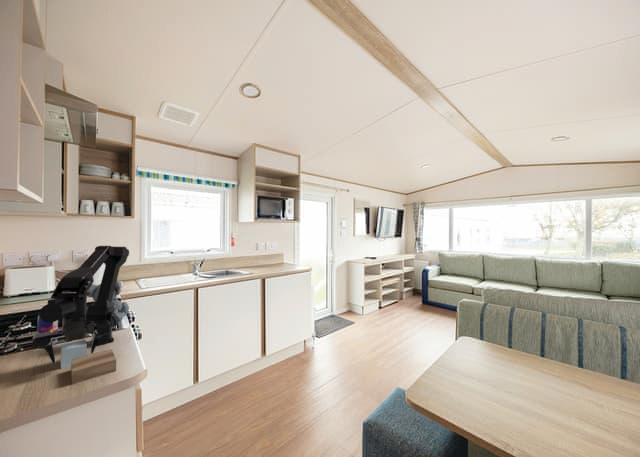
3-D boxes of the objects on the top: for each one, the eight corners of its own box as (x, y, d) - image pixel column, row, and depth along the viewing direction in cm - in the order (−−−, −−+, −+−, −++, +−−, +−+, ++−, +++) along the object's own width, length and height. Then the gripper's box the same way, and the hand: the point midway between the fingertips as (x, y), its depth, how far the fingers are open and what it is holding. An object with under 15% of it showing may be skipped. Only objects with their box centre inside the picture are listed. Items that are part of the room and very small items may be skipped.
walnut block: (70, 372, 80) (71, 359, 80) (111, 360, 87) (111, 349, 87) (72, 385, 73) (72, 372, 73) (116, 372, 80) (116, 359, 80)
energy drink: (43, 348, 94) (44, 316, 94) (33, 346, 95) (34, 315, 95) (60, 342, 99) (61, 311, 99) (50, 340, 100) (51, 310, 101)
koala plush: (129, 312, 135) (130, 276, 136) (125, 323, 120) (126, 282, 120) (86, 318, 126) (87, 279, 126) (76, 330, 111) (77, 286, 111)
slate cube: (60, 362, 85) (60, 344, 85) (84, 356, 89) (85, 339, 89) (60, 369, 81) (61, 350, 81) (86, 362, 85) (86, 344, 85)
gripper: (32, 325, 73) (30, 379, 73) (114, 311, 87) (112, 356, 86) (33, 316, 80) (32, 365, 80) (108, 304, 94) (107, 346, 94)
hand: (73, 357), depth 85 cm, fingers open, 9 cm apart
